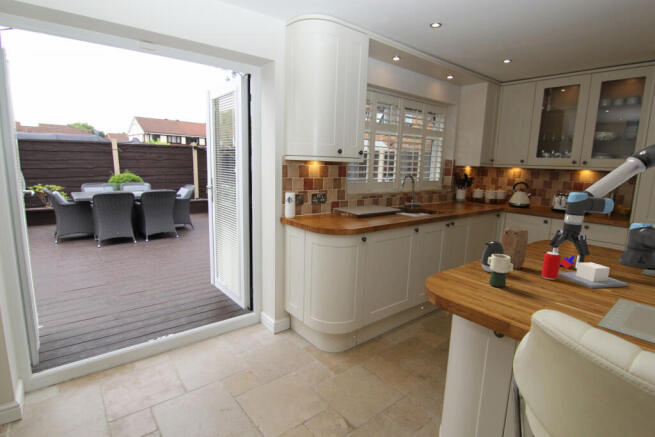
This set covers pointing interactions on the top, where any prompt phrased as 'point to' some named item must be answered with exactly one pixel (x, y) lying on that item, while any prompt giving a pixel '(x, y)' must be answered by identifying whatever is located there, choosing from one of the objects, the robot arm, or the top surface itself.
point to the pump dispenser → (490, 253)
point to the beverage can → (551, 265)
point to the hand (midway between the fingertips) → (565, 263)
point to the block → (515, 245)
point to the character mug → (499, 269)
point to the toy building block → (567, 262)
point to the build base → (590, 283)
